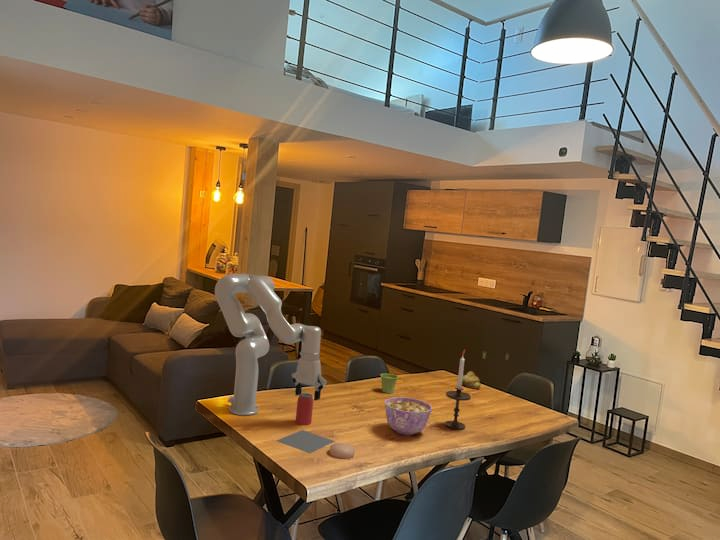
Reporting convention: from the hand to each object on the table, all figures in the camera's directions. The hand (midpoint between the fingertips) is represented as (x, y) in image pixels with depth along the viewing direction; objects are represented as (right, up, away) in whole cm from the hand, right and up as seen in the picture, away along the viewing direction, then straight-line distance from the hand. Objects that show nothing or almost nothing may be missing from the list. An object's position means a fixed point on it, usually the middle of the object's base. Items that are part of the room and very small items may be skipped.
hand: (307, 397), depth 221 cm
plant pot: (+36, -12, +61) cm, 72 cm away
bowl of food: (+41, -16, +4) cm, 44 cm away
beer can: (-2, -11, +1) cm, 12 cm away
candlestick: (+64, -17, +17) cm, 68 cm away
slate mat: (+1, -13, -19) cm, 23 cm away
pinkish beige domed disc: (+15, -15, -27) cm, 34 cm away
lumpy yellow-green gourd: (+86, -15, +89) cm, 125 cm away
